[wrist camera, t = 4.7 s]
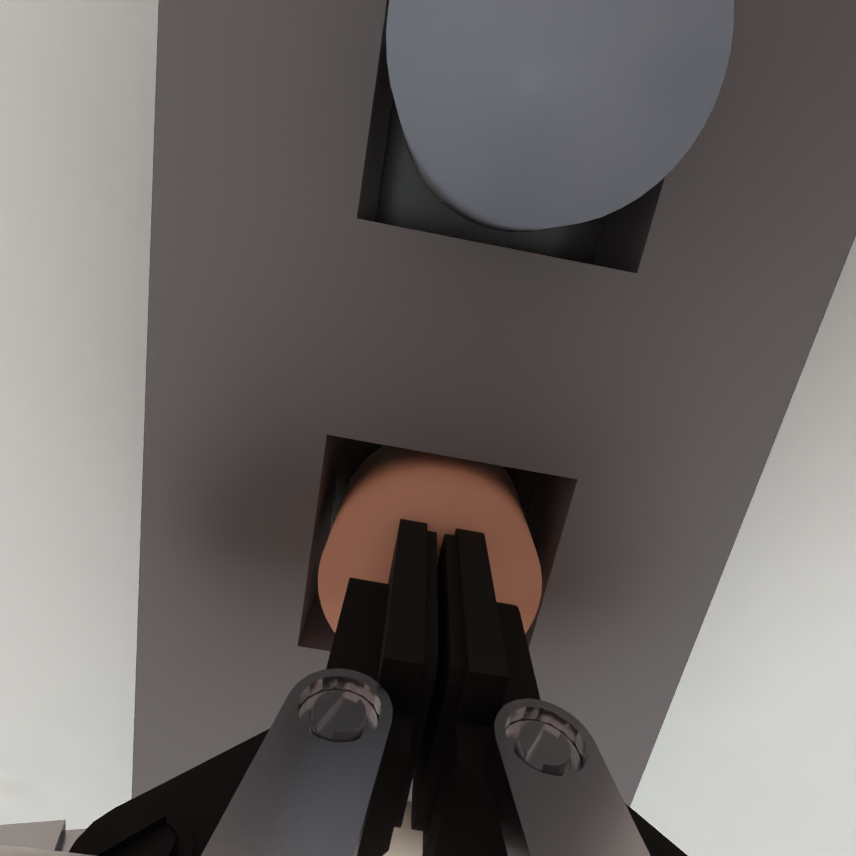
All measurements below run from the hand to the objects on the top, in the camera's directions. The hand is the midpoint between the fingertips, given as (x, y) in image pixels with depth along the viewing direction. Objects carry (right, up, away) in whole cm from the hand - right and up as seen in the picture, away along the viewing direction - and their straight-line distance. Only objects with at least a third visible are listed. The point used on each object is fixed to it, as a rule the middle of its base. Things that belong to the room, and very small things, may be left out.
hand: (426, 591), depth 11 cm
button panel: (0, +1, +4) cm, 4 cm away
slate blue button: (+2, +9, -1) cm, 9 cm away
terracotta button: (0, +1, +3) cm, 3 cm away
